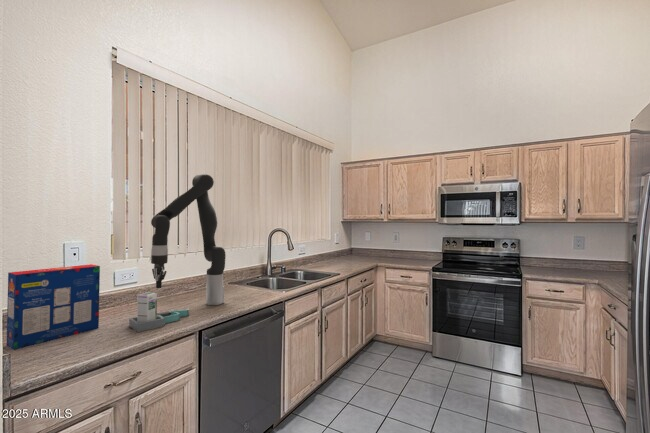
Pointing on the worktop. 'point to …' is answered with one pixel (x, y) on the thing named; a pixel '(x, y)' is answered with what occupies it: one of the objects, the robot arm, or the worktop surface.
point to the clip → (171, 318)
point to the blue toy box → (51, 304)
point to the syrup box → (146, 307)
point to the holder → (146, 324)
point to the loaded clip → (181, 312)
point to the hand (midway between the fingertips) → (158, 287)
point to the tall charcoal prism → (164, 314)
